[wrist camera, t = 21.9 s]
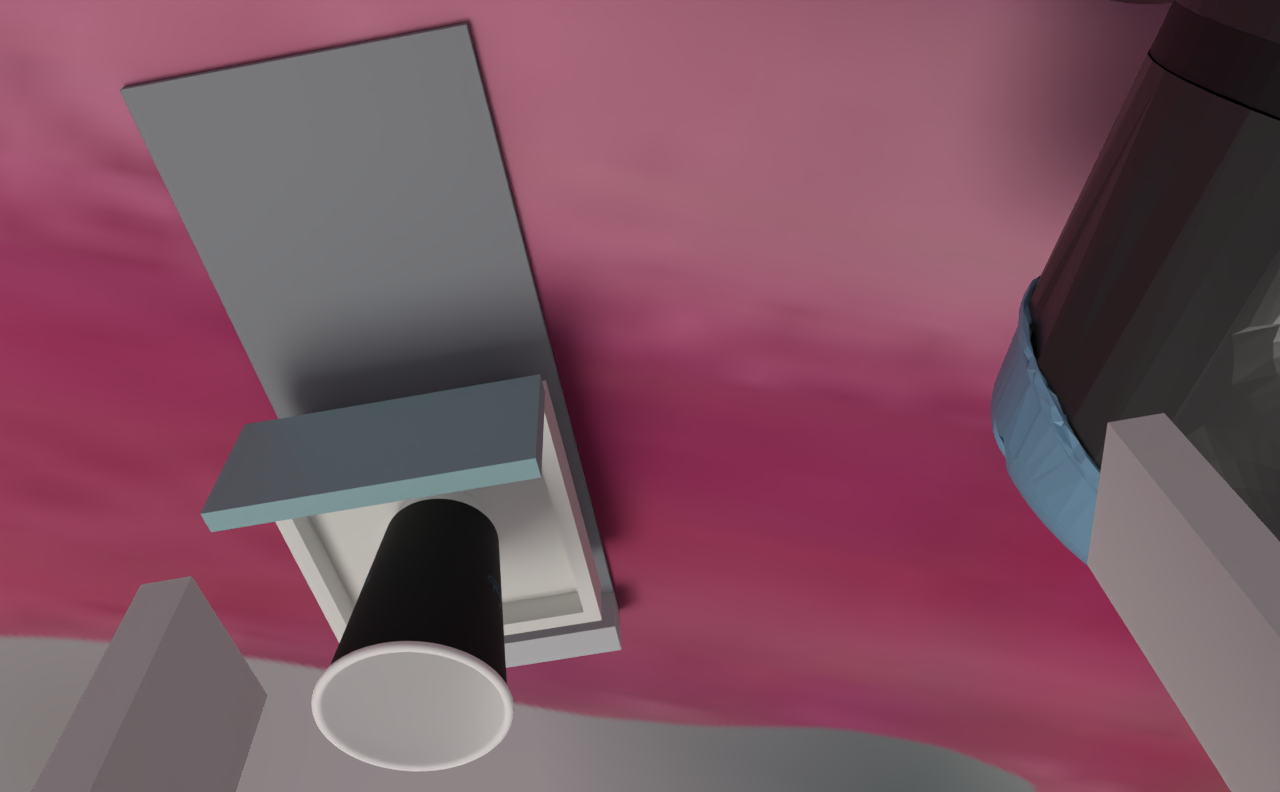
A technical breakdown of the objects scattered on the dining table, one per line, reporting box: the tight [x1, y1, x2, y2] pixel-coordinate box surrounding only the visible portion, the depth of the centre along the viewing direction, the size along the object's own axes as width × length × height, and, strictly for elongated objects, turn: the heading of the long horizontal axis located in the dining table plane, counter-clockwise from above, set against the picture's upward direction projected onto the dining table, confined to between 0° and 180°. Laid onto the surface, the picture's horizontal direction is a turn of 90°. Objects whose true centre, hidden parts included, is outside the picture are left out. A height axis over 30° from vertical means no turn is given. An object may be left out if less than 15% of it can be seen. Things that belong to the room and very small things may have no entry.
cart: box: [201, 374, 602, 643], centre depth 44 cm, size 14×15×9 cm
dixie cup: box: [311, 491, 514, 771], centre depth 41 cm, size 8×8×11 cm
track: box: [120, 22, 621, 668], centre depth 45 cm, size 14×34×3 cm, turn 9°
